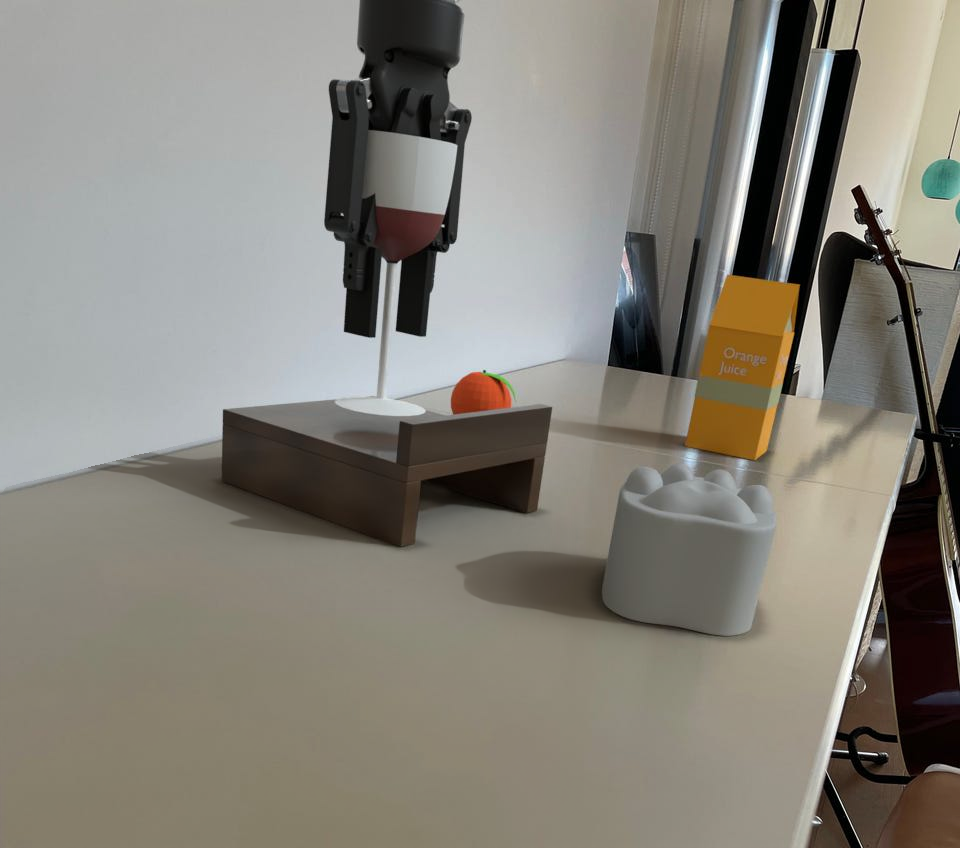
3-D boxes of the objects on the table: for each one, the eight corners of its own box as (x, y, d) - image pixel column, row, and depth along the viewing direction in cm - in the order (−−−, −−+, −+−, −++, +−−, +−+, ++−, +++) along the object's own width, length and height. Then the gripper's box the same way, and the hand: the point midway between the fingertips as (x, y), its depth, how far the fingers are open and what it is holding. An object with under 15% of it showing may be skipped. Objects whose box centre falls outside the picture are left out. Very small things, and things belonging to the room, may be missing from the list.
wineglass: (309, 397, 81) (323, 127, 74) (392, 394, 87) (413, 143, 79) (366, 418, 76) (387, 130, 68) (451, 414, 82) (480, 148, 74)
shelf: (221, 481, 82) (223, 371, 79) (368, 457, 96) (375, 363, 93) (400, 547, 72) (412, 424, 69) (537, 510, 86) (552, 406, 82)
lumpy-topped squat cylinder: (596, 613, 64) (620, 484, 61) (608, 556, 76) (628, 445, 73) (757, 642, 63) (790, 511, 60) (744, 579, 75) (771, 467, 72)
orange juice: (699, 437, 128) (733, 274, 120) (767, 451, 125) (806, 284, 117) (683, 446, 121) (718, 274, 114) (755, 460, 118) (795, 284, 110)
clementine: (526, 438, 114) (534, 375, 111) (495, 445, 109) (503, 379, 106) (468, 424, 118) (475, 363, 115) (435, 430, 112) (442, 366, 109)
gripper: (362, -40, 61) (338, 344, 70) (528, 27, 75) (490, 340, 85) (279, -37, 65) (266, 327, 74) (452, 27, 79) (423, 326, 88)
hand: (385, 333), depth 79 cm, fingers closed on wineglass, 5 cm apart
